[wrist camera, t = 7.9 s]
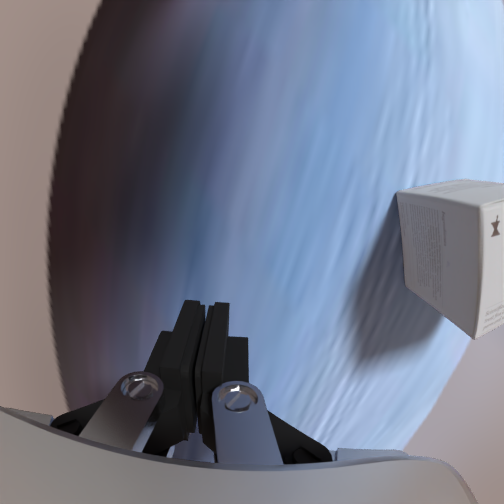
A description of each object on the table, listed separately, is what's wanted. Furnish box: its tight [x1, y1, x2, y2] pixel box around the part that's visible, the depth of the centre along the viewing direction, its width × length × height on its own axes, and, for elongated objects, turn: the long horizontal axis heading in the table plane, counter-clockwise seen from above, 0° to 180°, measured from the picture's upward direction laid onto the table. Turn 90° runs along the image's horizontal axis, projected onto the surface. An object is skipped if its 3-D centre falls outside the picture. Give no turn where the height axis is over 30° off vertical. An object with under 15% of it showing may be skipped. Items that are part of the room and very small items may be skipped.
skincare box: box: [396, 179, 504, 340], centre depth 12 cm, size 6×6×7 cm
